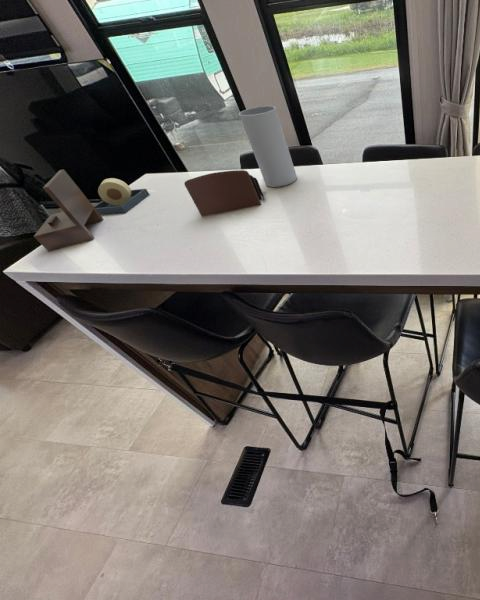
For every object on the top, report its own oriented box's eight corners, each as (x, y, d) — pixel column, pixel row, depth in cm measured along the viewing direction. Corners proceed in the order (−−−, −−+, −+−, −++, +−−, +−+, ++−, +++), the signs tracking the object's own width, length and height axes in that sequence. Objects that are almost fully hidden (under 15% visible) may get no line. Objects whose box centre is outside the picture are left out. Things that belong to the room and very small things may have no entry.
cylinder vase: (269, 177, 132) (243, 108, 115) (299, 173, 132) (278, 104, 116) (263, 189, 123) (234, 117, 106) (295, 185, 123) (272, 112, 106)
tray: (126, 212, 118) (121, 206, 117) (93, 215, 119) (88, 209, 117) (149, 194, 130) (145, 188, 128) (120, 197, 130) (116, 191, 129)
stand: (52, 255, 99) (-6, 198, 86) (67, 233, 110) (17, 178, 97) (97, 244, 102) (47, 186, 89) (106, 223, 113) (63, 169, 100)
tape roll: (107, 208, 121) (91, 184, 115) (109, 203, 124) (94, 180, 118) (135, 203, 124) (121, 180, 118) (136, 198, 127) (123, 176, 121)
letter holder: (263, 209, 110) (246, 168, 101) (203, 220, 108) (180, 179, 98) (264, 197, 118) (248, 157, 108) (208, 208, 115) (187, 168, 105)
